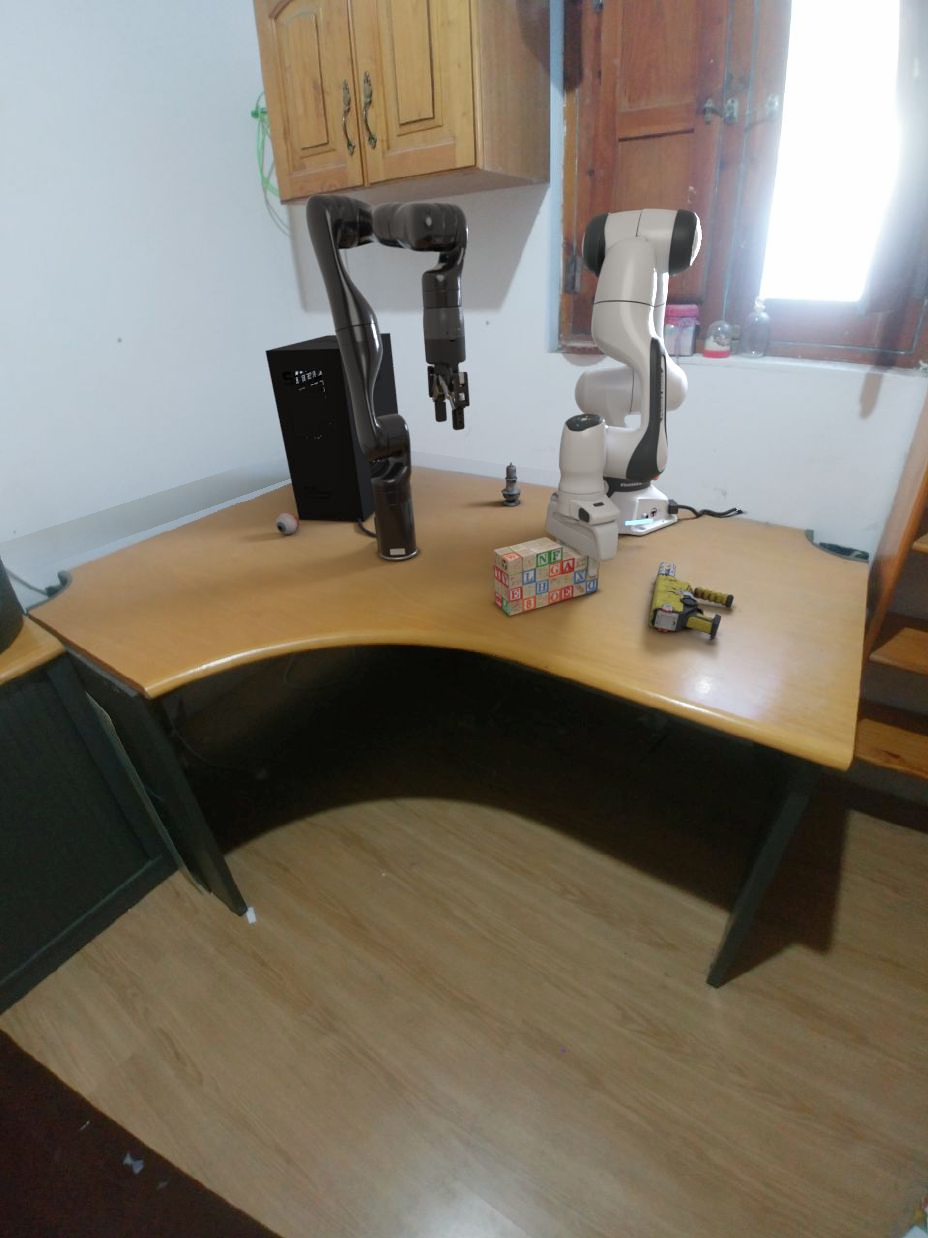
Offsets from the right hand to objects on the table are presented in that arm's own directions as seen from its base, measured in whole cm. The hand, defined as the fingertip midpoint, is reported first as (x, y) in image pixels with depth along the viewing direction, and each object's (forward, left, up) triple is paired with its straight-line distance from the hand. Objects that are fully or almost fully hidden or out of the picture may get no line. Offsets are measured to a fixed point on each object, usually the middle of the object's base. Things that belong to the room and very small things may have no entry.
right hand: (577, 566), depth 125 cm
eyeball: (+48, -67, -6) cm, 83 cm away
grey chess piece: (-15, -56, -6) cm, 58 cm away
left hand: (+20, -17, +28) cm, 38 cm away
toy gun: (-15, +18, -6) cm, 24 cm away
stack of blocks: (+7, -1, -6) cm, 9 cm away
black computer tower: (+24, -86, -6) cm, 89 cm away
